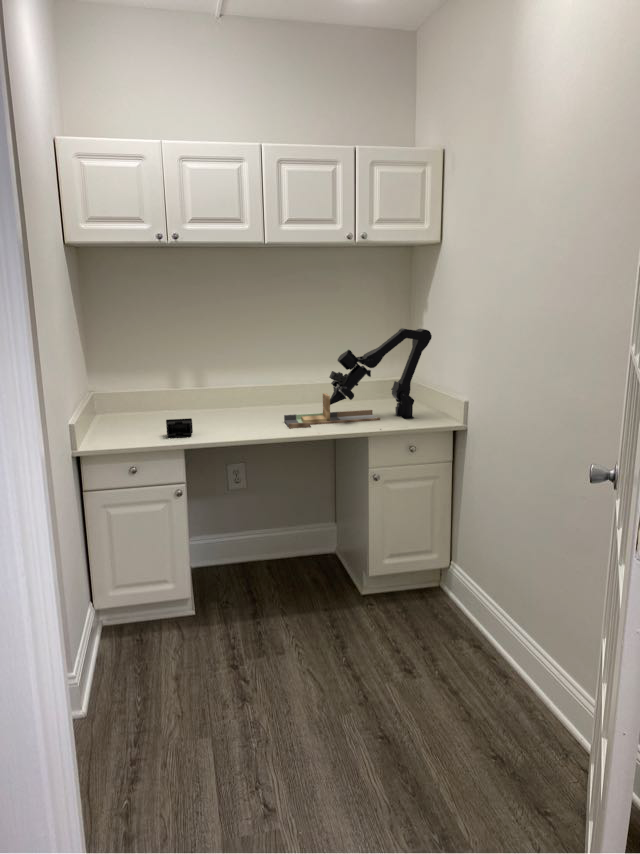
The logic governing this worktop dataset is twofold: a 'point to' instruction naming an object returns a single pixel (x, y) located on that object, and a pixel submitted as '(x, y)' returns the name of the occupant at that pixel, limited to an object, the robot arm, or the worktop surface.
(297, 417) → the trap track
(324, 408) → the oak bookend
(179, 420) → the end cap
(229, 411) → the worktop surface
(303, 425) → the walnut front lip
